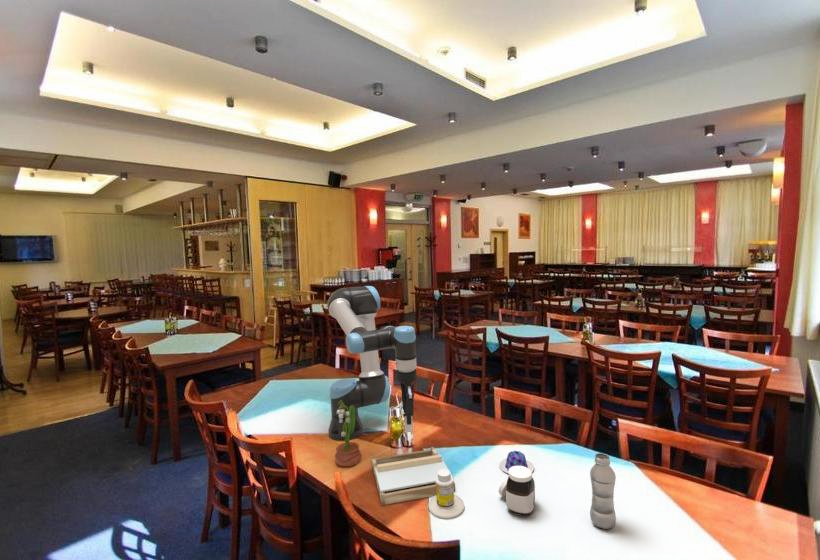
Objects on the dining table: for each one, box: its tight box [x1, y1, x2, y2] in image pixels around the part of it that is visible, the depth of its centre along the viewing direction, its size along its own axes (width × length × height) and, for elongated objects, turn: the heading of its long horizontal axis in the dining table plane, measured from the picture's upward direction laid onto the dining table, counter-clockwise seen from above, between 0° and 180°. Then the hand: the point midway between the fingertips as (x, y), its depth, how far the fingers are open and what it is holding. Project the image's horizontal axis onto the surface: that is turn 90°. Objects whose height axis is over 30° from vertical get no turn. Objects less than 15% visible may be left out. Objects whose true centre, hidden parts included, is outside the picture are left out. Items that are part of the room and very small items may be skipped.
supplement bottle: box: [435, 469, 455, 509], centre depth 124 cm, size 6×6×10 cm
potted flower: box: [334, 400, 362, 467], centre depth 153 cm, size 12×10×25 cm
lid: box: [375, 454, 454, 493], centre depth 137 cm, size 12×24×3 cm, turn 103°
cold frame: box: [370, 446, 456, 506], centre depth 142 cm, size 26×24×3 cm
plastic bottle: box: [589, 452, 617, 530], centre depth 113 cm, size 6×7×20 cm
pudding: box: [499, 450, 535, 475], centre depth 145 cm, size 12×12×5 cm
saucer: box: [428, 494, 465, 520], centre depth 124 cm, size 11×11×1 cm
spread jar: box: [498, 466, 536, 517], centre depth 124 cm, size 12×11×12 cm
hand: (408, 431), depth 148 cm, fingers closed
